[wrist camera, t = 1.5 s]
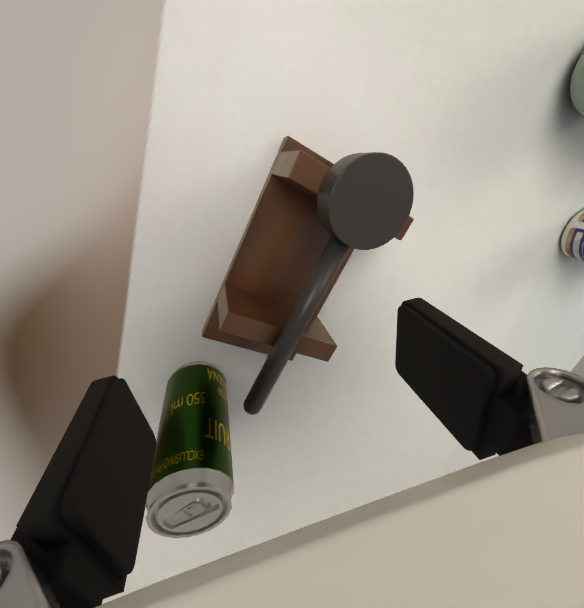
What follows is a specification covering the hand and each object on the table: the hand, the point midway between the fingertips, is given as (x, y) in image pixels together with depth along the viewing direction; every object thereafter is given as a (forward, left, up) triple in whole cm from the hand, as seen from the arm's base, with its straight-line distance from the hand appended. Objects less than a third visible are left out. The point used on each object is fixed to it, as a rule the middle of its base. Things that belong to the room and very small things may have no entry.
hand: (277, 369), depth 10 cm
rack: (+5, 0, -16) cm, 16 cm away
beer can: (+2, -14, -16) cm, 21 cm away
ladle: (+5, 0, -10) cm, 11 cm away
